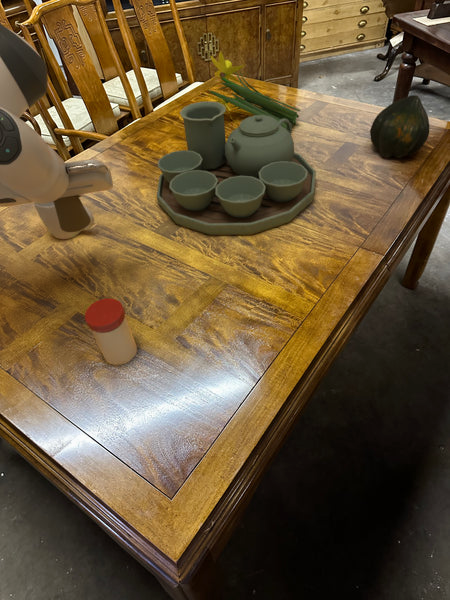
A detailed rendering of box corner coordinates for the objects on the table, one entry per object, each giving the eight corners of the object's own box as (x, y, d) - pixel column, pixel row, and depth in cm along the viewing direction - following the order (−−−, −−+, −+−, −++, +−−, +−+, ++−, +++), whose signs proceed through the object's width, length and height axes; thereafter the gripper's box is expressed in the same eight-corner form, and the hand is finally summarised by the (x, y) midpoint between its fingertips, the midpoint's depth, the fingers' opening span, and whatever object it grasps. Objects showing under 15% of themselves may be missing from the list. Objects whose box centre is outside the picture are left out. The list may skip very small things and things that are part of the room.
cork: (74, 212, 87) (54, 162, 79) (96, 217, 84) (78, 167, 77) (54, 228, 83) (31, 178, 75) (77, 234, 81) (56, 184, 73)
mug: (42, 241, 98) (24, 204, 91) (62, 219, 104) (47, 183, 97) (89, 247, 95) (75, 210, 88) (108, 224, 101) (95, 188, 94)
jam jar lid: (84, 335, 64) (81, 328, 63) (90, 306, 69) (87, 300, 68) (124, 330, 65) (121, 324, 63) (126, 302, 69) (124, 295, 68)
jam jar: (102, 368, 71) (83, 330, 64) (106, 342, 75) (88, 303, 68) (136, 364, 71) (121, 325, 64) (138, 338, 75) (124, 298, 68)
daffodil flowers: (277, 145, 124) (181, 98, 132) (288, 150, 138) (201, 106, 145) (304, 87, 118) (202, 41, 125) (313, 98, 131) (220, 55, 139)
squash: (356, 140, 109) (407, 97, 99) (364, 119, 119) (411, 78, 109) (391, 178, 113) (444, 141, 102) (396, 154, 123) (444, 118, 112)
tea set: (129, 219, 102) (111, 155, 90) (204, 146, 126) (197, 88, 114) (284, 255, 88) (286, 185, 76) (335, 165, 112) (342, 102, 100)
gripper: (99, 143, 67) (116, 170, 81) (-31, 164, 65) (8, 188, 79) (107, 182, 67) (122, 202, 81) (-24, 204, 65) (15, 220, 79)
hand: (65, 195), depth 80 cm, fingers closed on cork, 4 cm apart
